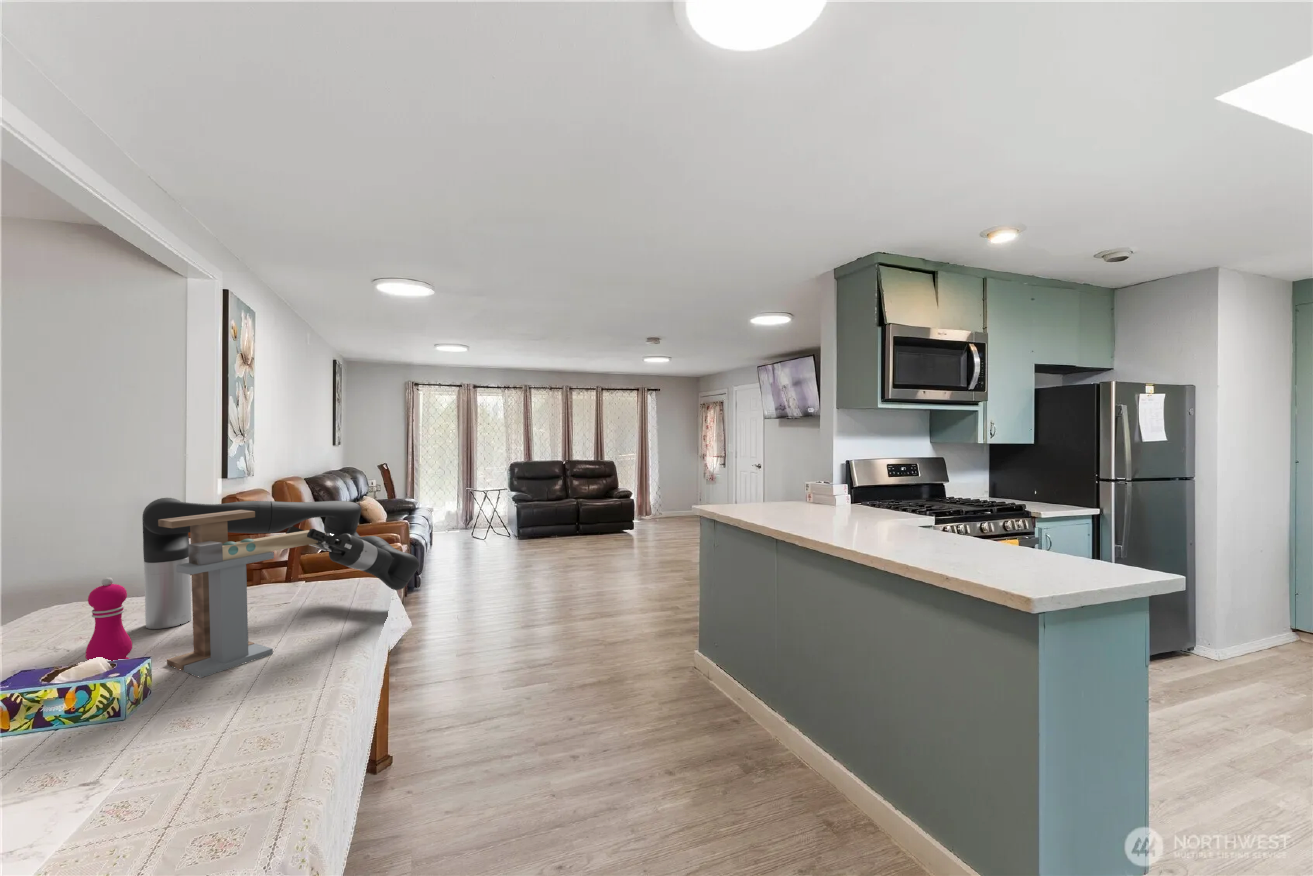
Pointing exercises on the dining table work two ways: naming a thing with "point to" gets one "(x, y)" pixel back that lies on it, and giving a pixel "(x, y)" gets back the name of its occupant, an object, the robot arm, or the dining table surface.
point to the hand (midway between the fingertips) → (298, 531)
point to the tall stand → (202, 577)
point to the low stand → (227, 615)
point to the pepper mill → (108, 622)
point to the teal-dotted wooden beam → (244, 547)
